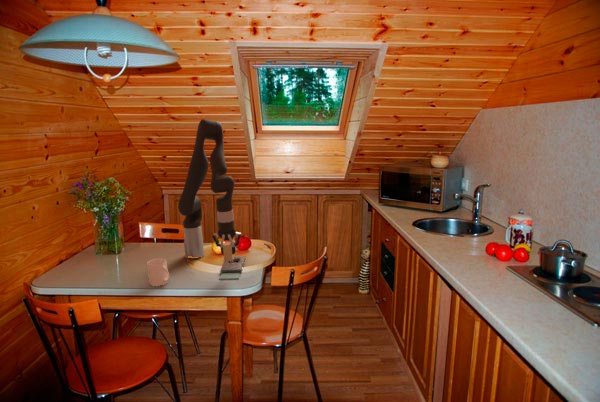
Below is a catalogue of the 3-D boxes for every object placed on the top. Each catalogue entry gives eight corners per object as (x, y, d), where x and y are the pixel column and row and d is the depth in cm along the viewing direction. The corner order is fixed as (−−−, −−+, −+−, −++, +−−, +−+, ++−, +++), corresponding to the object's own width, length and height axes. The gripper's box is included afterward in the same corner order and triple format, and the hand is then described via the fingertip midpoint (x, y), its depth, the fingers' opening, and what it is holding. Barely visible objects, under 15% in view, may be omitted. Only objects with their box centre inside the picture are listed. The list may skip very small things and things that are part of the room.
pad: (219, 279, 199) (219, 278, 199) (221, 274, 205) (221, 273, 205) (238, 279, 199) (238, 278, 199) (240, 273, 205) (240, 272, 205)
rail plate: (220, 273, 205) (220, 269, 205) (226, 260, 221) (226, 256, 220) (241, 273, 205) (241, 269, 205) (245, 259, 221) (245, 256, 220)
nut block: (224, 261, 198) (222, 245, 196) (225, 257, 202) (224, 242, 200) (232, 260, 198) (231, 244, 196) (234, 257, 202) (232, 241, 200)
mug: (162, 290, 190) (159, 268, 188) (145, 284, 197) (142, 263, 194) (177, 283, 197) (175, 261, 194) (160, 277, 204) (158, 256, 201)
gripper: (208, 222, 191) (212, 257, 196) (239, 221, 191) (242, 256, 195) (211, 217, 198) (215, 251, 203) (242, 216, 198) (244, 250, 203)
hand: (228, 253), depth 199 cm, fingers closed on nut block, 4 cm apart
